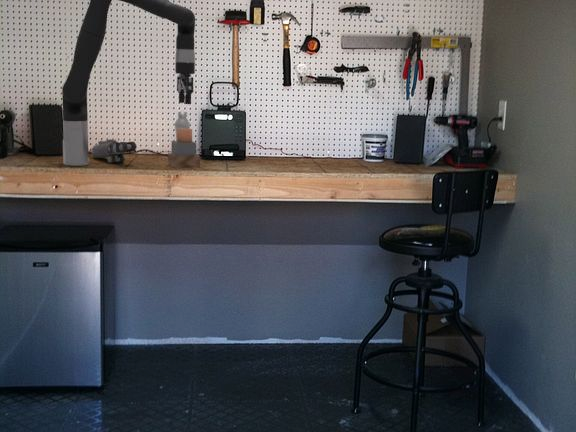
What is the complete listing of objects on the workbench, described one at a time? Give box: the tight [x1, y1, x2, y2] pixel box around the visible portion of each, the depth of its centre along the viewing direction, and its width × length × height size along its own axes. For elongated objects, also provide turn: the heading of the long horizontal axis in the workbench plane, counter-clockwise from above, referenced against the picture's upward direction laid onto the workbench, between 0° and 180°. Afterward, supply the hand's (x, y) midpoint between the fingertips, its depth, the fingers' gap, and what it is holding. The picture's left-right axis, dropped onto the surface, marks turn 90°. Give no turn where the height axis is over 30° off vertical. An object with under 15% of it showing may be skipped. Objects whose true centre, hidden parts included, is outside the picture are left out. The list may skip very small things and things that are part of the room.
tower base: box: [167, 152, 201, 169], centre depth 303 cm, size 10×10×5 cm
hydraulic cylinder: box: [91, 138, 138, 164], centre depth 310 cm, size 7×37×10 cm, turn 36°
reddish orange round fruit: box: [177, 128, 193, 143], centre depth 301 cm, size 6×6×5 cm
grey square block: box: [171, 140, 197, 156], centre depth 302 cm, size 8×8×5 cm
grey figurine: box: [174, 111, 191, 141], centre depth 324 cm, size 6×7×20 cm
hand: (184, 103), depth 298 cm, fingers open, 8 cm apart
